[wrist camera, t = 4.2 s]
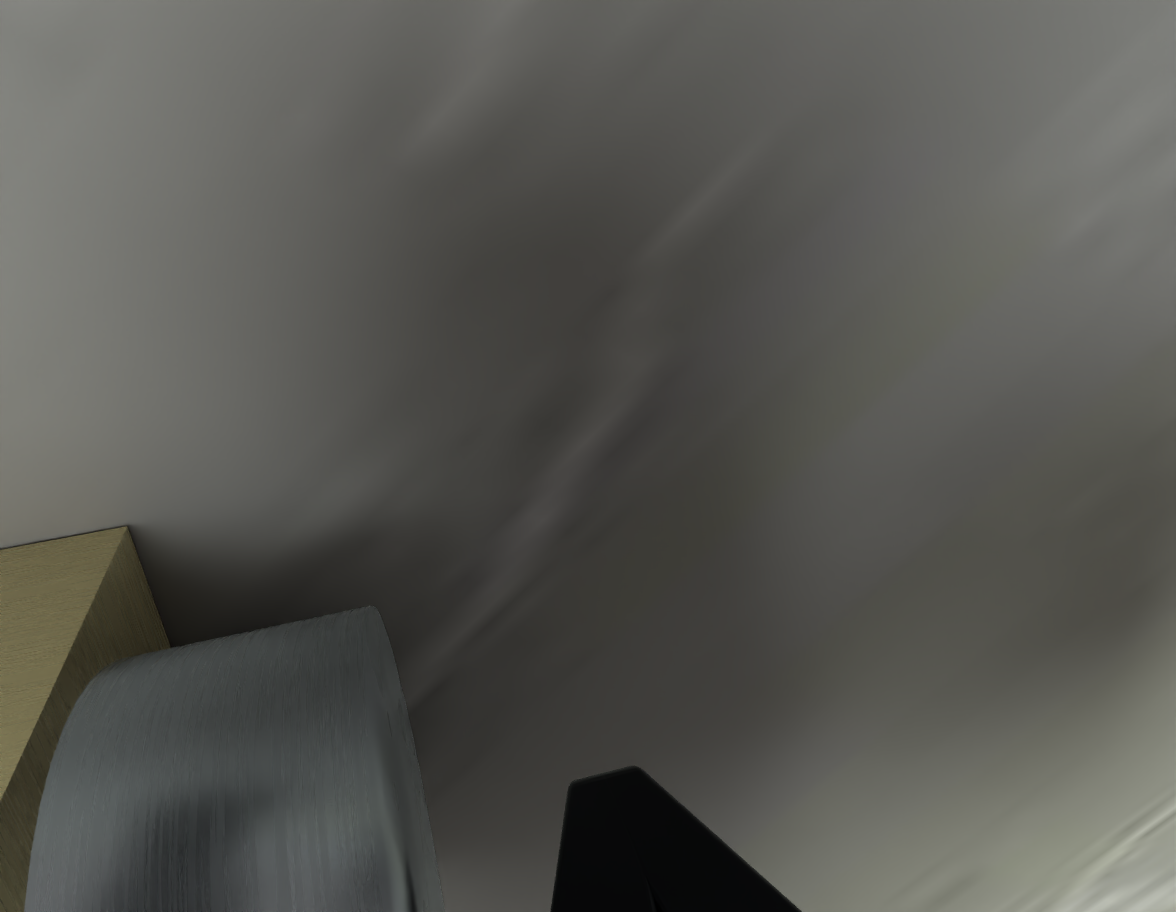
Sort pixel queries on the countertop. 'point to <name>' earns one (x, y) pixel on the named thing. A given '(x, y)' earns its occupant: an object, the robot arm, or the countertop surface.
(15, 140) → the countertop surface
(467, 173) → the countertop surface
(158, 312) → the countertop surface
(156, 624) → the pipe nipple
